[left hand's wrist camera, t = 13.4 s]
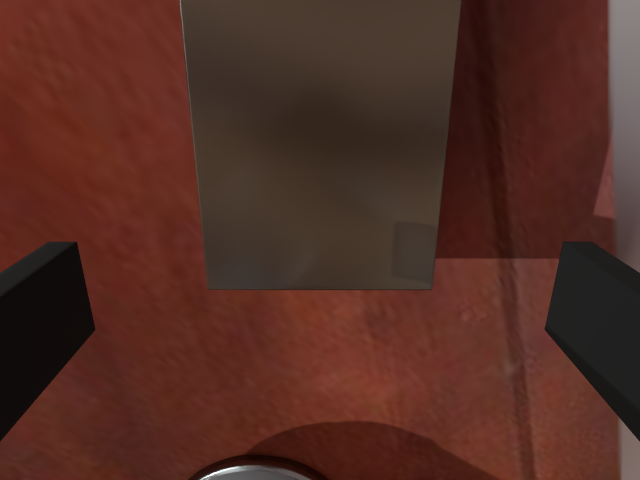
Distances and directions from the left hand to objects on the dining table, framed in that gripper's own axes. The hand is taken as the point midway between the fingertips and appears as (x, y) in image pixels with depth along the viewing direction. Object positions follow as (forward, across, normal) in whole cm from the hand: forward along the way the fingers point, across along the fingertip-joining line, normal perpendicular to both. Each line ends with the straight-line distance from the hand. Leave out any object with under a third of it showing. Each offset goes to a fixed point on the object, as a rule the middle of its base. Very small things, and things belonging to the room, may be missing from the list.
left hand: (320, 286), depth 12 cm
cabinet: (+17, 0, -4) cm, 18 cm away
